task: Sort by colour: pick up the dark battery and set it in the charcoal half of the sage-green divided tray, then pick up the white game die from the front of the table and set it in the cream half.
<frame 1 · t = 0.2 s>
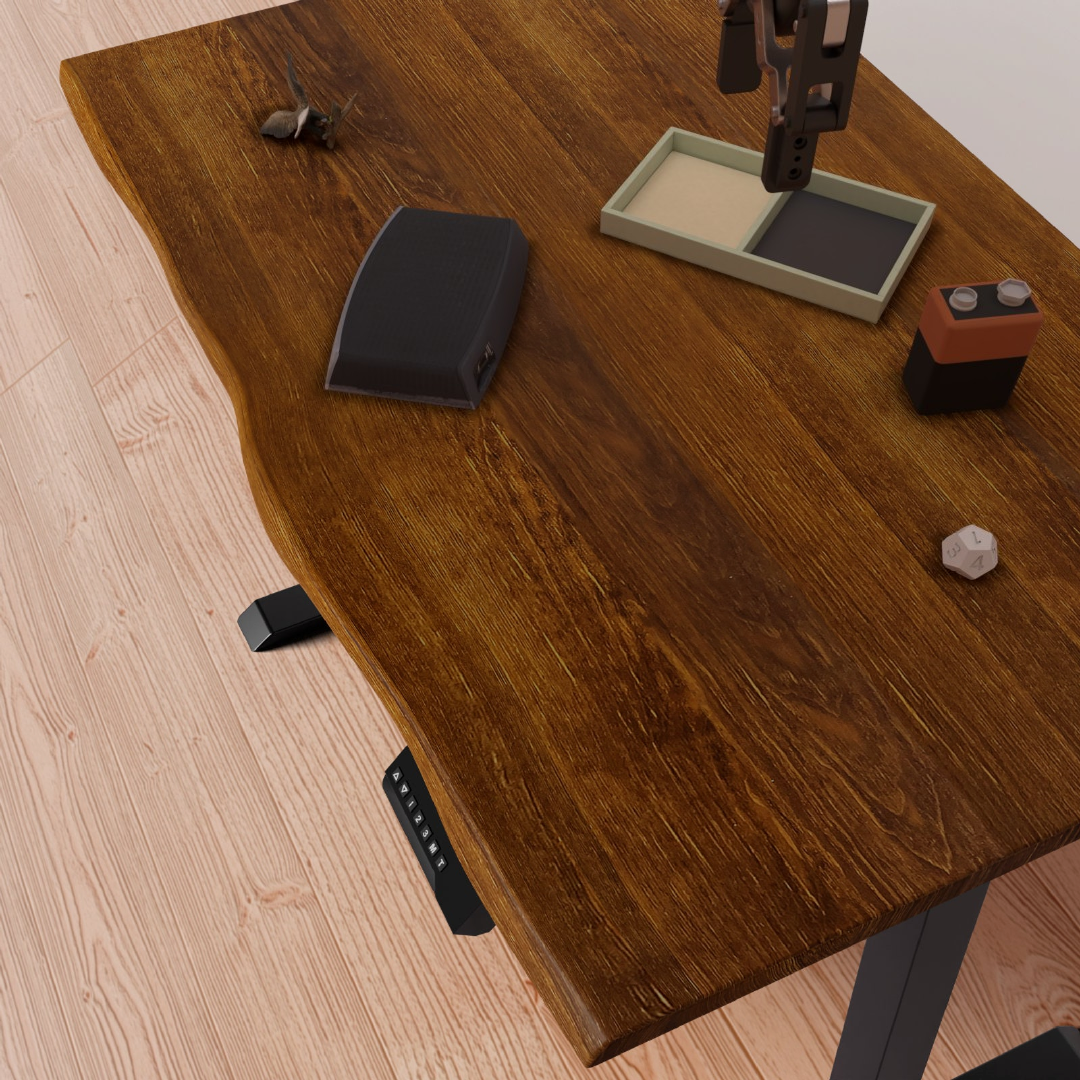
hand: (759, 136, 58), 28 cm above the table, tool pointing down, fingers open, 8 cm apart
game die: (962, 568, 77), on the table
battery: (951, 397, 86), on the table
sorting tray: (763, 235, 98), on the table
hard drive: (433, 320, 92), on the table
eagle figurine: (306, 137, 107), on the table
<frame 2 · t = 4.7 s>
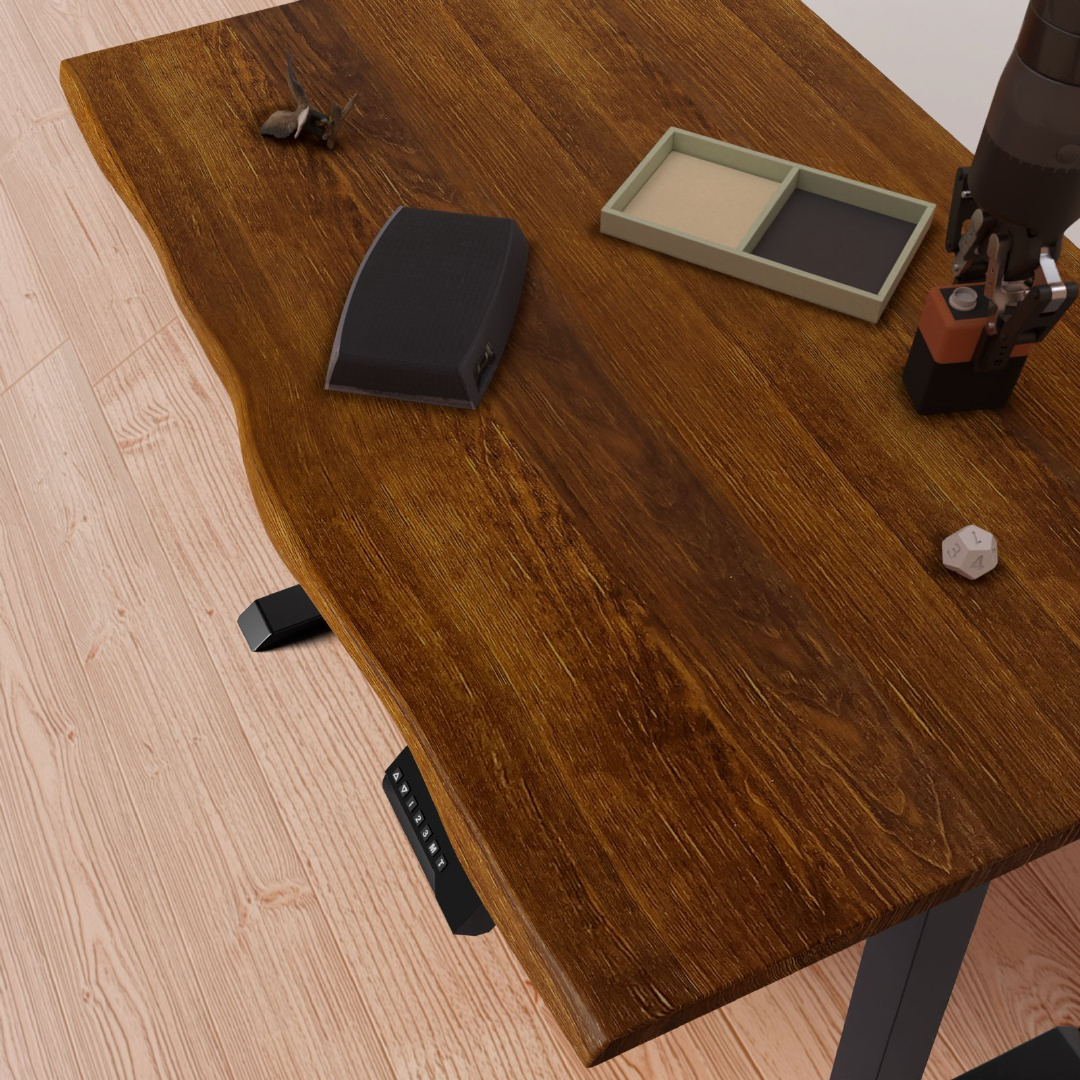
hand: (971, 341, 82), 5 cm above the table, tool pointing down, fingers closed on battery, 4 cm apart
battery: (951, 397, 86), on the table, touching gripper
everything else where it was.
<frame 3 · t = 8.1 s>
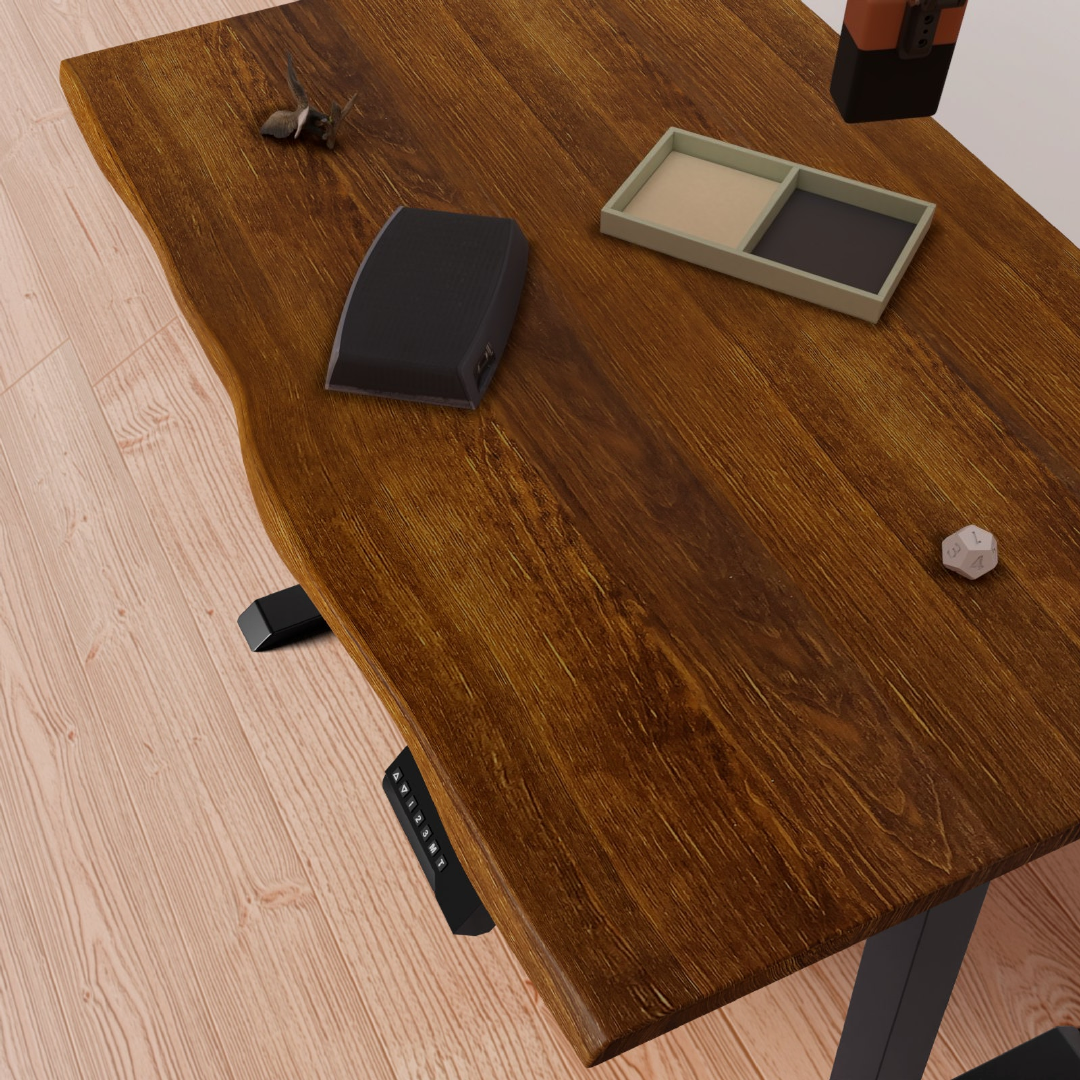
hand: (898, 34, 79), 20 cm above the table, tool pointing down, fingers closed on battery, 4 cm apart
battery: (880, 108, 83), point 15 cm above the table, touching gripper
everything else where it was.
when the fingers open (6 cm above the table, at t = 11.6 s): battery stays where it is, resting on sorting tray.
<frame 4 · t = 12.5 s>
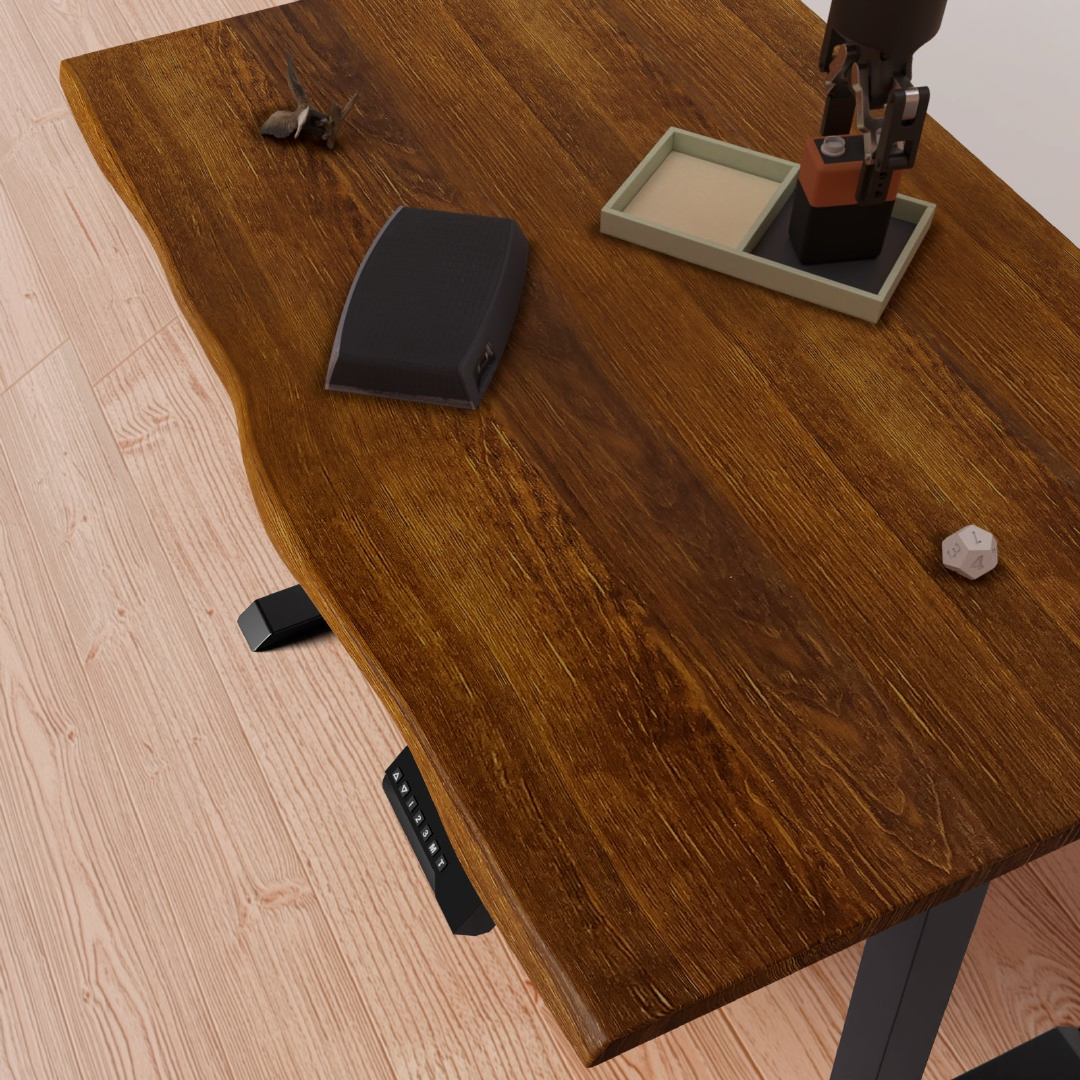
hand: (850, 169, 89), 8 cm above the table, tool pointing down, fingers open, 8 cm apart
battery: (832, 248, 95), point 1 cm above the table, touching sorting tray
everything else where it was.
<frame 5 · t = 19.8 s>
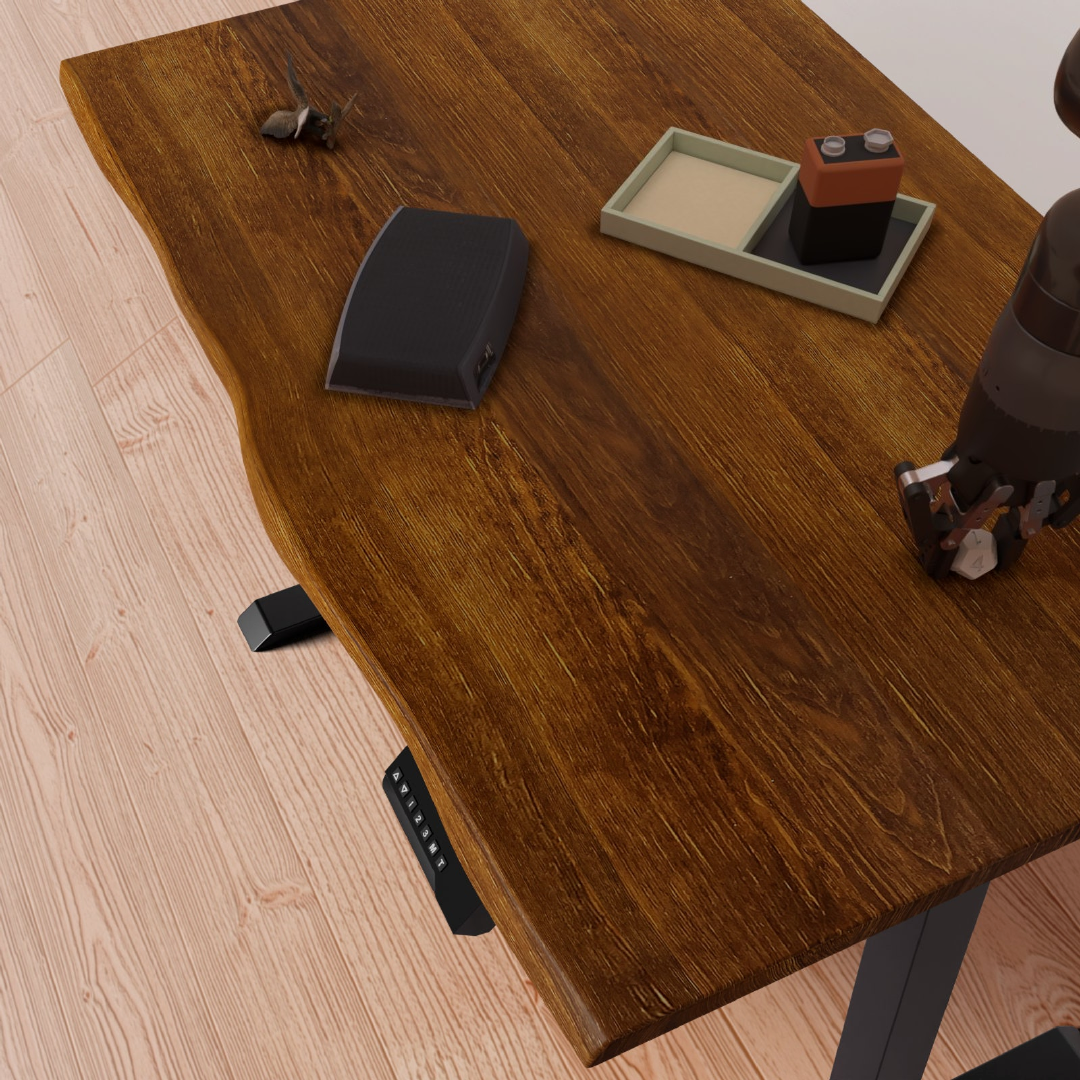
hand: (964, 564, 76), 0 cm above the table, tool pointing down, fingers closed on game die, 3 cm apart
game die: (962, 568, 77), on the table, touching gripper
everything else where it was.
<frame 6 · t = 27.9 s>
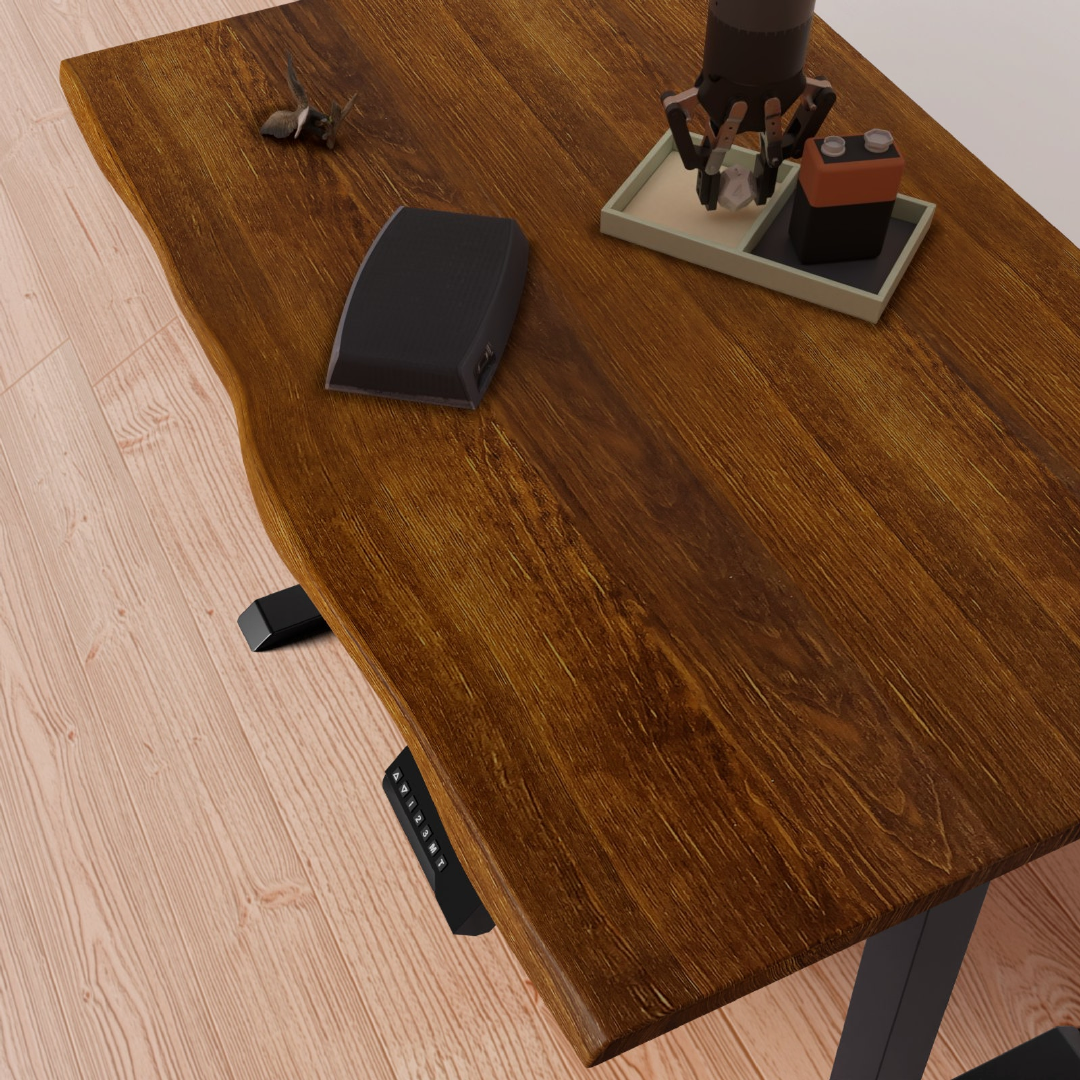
hand: (733, 201, 97), 2 cm above the table, tool pointing down, fingers closed on game die, 3 cm apart
game die: (732, 205, 97), point 2 cm above the table, touching gripper
everything else where it was.
when the fingers open (1 cm above the table, at t = 28.5 s): game die stays where it is, resting on sorting tray.
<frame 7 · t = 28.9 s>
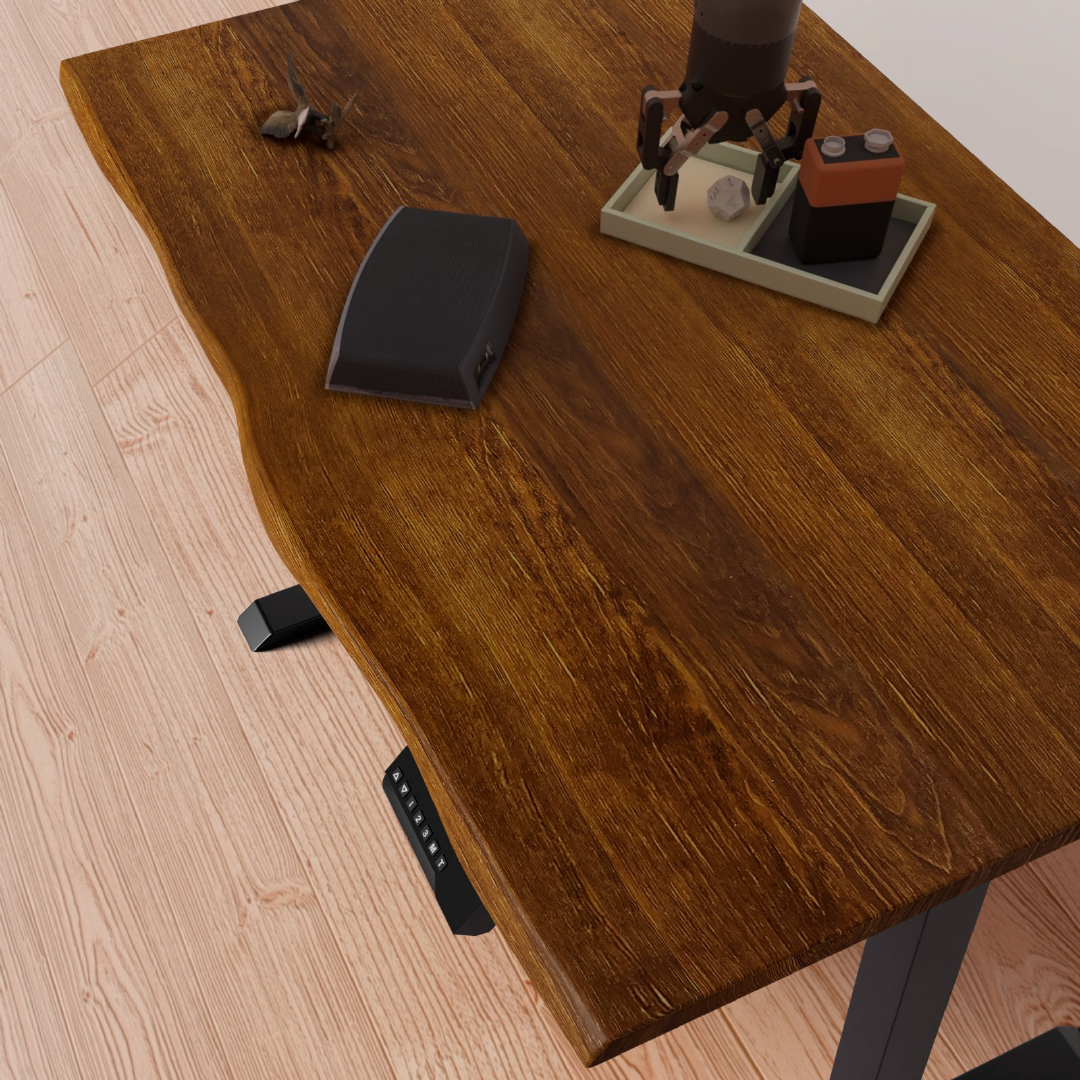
hand: (712, 202, 97), 2 cm above the table, tool pointing down, fingers open, 7 cm apart
game die: (726, 215, 98), point 1 cm above the table, touching sorting tray
everything else where it was.
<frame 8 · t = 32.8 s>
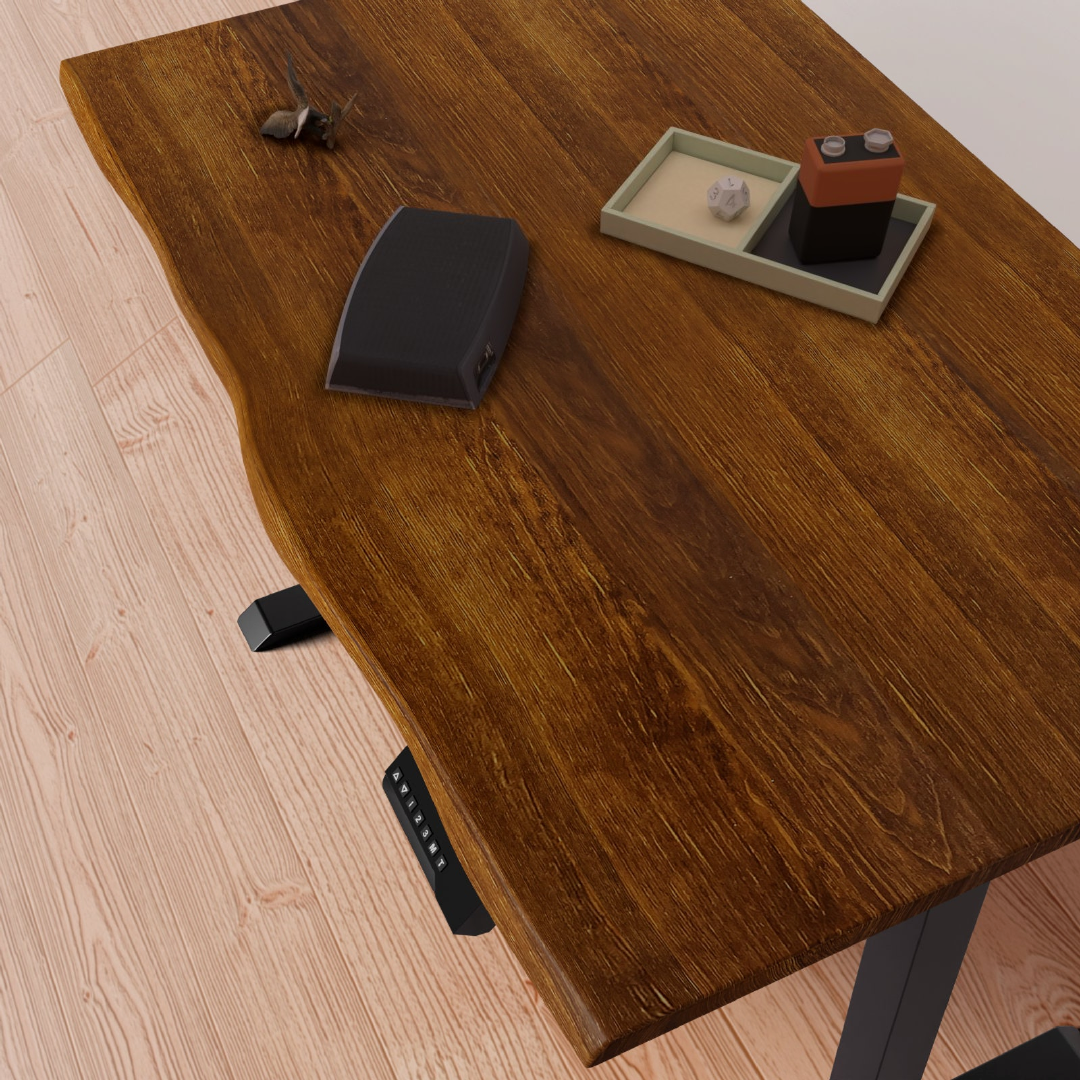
nothing on the table moved.
at the end: battery inside the target area on the sorting tray (0.1 cm from its centre), point 0.8 cm above the sorting tray's base; game die inside the target area on the sorting tray (1.9 cm from its centre), point 0.8 cm above the sorting tray's base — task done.
